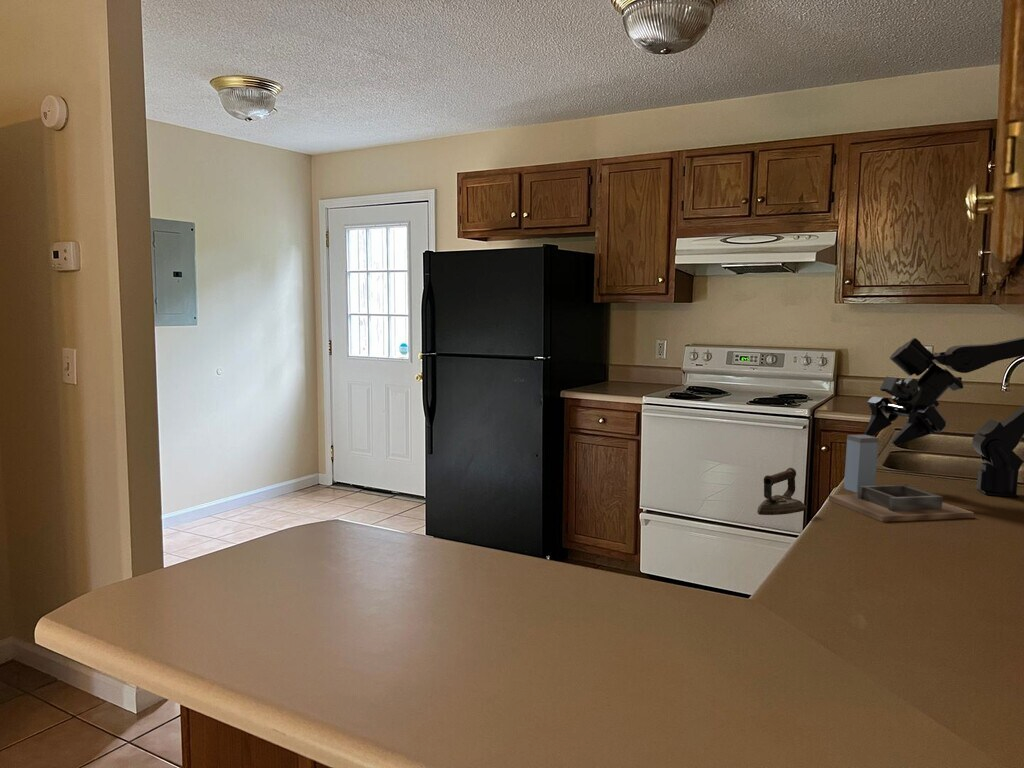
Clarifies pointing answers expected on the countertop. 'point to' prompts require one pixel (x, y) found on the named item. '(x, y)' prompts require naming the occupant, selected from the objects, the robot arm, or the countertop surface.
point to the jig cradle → (899, 504)
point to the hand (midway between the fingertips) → (879, 440)
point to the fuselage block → (860, 461)
